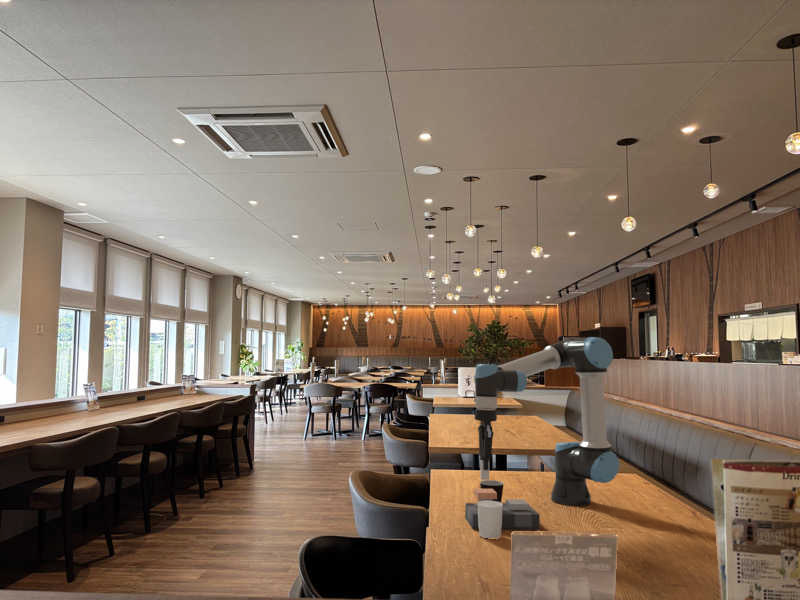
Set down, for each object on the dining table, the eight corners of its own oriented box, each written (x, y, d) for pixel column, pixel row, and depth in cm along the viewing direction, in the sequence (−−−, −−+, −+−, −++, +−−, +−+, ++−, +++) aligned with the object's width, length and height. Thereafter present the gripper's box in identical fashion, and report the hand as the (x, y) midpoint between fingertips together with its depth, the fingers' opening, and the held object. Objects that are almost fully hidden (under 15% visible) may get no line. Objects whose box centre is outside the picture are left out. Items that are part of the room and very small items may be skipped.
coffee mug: (503, 514, 200) (503, 486, 201) (479, 512, 202) (479, 484, 203) (503, 506, 212) (503, 479, 213) (480, 504, 213) (481, 478, 215)
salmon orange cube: (492, 506, 193) (492, 488, 193) (496, 511, 186) (496, 493, 187) (474, 506, 192) (474, 488, 193) (477, 511, 186) (478, 492, 186)
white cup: (496, 542, 170) (497, 508, 171) (473, 537, 174) (473, 504, 175) (506, 535, 176) (506, 502, 177) (483, 531, 180) (483, 499, 181)
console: (527, 518, 197) (527, 503, 197) (539, 530, 183) (539, 514, 183) (465, 517, 195) (465, 503, 196) (473, 530, 181) (473, 514, 182)
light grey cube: (523, 517, 193) (523, 499, 194) (529, 522, 187) (529, 504, 187) (505, 517, 192) (505, 499, 193) (510, 522, 186) (510, 504, 187)
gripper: (471, 407, 199) (470, 475, 196) (479, 410, 186) (477, 483, 183) (492, 407, 199) (491, 475, 197) (501, 410, 186) (500, 483, 184)
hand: (484, 479), depth 190 cm, fingers closed
